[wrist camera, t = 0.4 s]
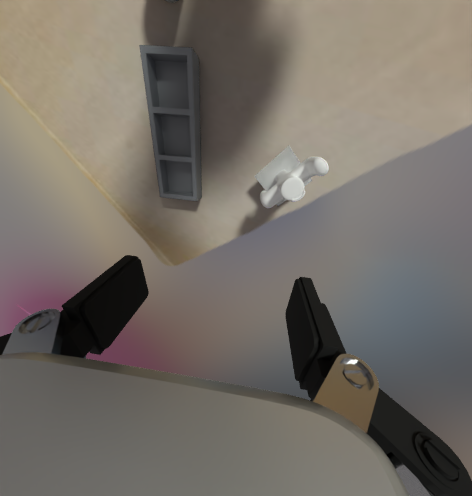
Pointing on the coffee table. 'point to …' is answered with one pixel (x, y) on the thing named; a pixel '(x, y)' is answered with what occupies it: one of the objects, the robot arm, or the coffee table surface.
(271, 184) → the figurine
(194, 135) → the grey compartment tray
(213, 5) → the coffee table surface
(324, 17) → the coffee table surface
